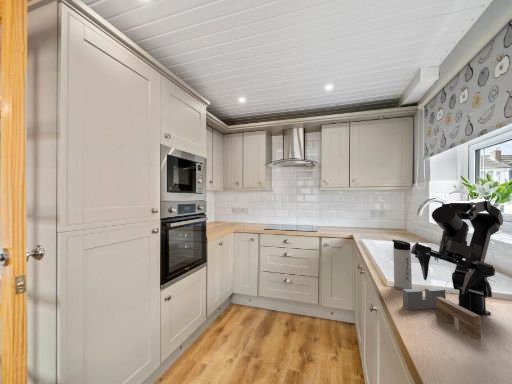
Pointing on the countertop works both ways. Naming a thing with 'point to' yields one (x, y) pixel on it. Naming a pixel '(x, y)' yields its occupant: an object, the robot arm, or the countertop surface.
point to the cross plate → (459, 317)
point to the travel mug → (402, 265)
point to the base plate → (421, 298)
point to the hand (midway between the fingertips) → (443, 286)
